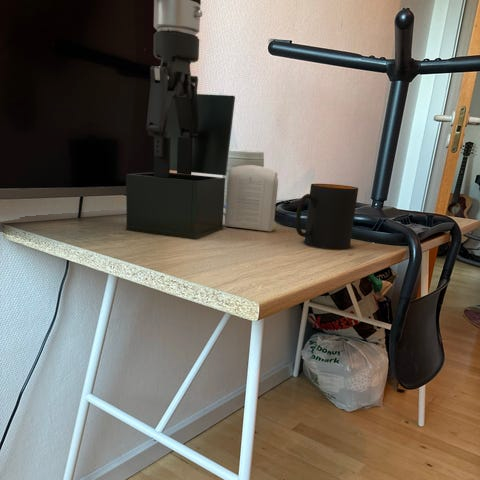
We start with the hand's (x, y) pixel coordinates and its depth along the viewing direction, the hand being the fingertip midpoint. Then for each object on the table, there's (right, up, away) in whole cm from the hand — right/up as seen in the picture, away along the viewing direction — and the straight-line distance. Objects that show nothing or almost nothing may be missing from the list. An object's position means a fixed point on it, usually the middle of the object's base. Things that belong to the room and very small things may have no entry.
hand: (173, 175), depth 89 cm
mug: (+27, -13, -1) cm, 30 cm away
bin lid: (+4, +10, +5) cm, 11 cm away
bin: (0, -9, +4) cm, 10 cm away
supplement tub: (+12, -1, +29) cm, 32 cm away
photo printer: (+14, -8, +11) cm, 19 cm away
